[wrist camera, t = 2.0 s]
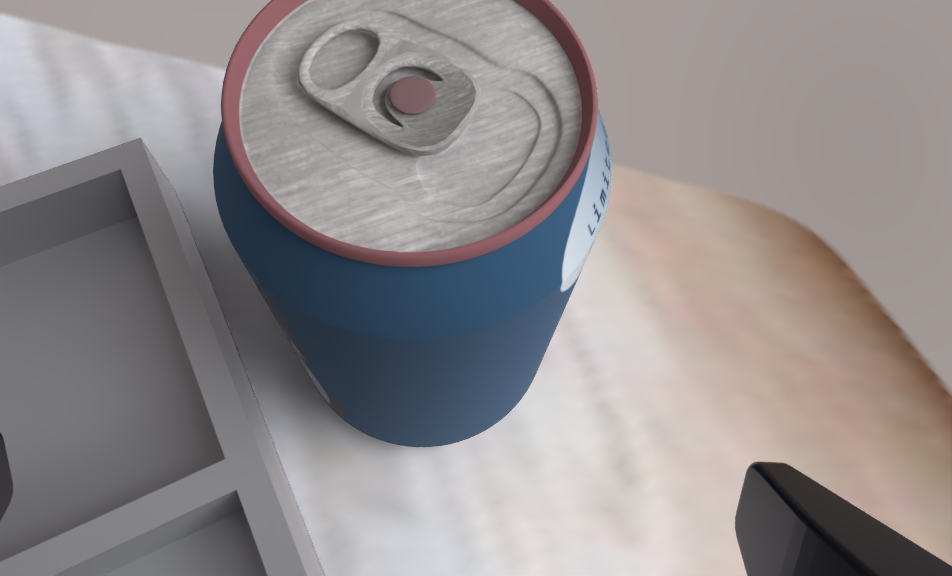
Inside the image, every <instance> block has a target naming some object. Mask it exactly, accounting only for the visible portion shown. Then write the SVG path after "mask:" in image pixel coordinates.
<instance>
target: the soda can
mask: <svg viewBox="0 0 952 576" xmlns="http://www.w3.org/2000/svg"><path fill="white" fill-rule="evenodd" d="M221 114H222V122H221V125H220V128H219V133H218V137H217V141H216V147H215V154H214V167H213V175H214V189H215V196H216V202H217V206H218V210H219V214H220V217H221V220H222V222H223V225H224V228H225V230H226V232H227V234H228V237H229V239H230V241H231V243H232V244H233V246H234V248H235V250H236V251H237V253H238V255H239V256H240V258H241V260H242V262H243V263H244V265H245V267H246V268H247V270H248V272H249V274H250V275H251V277H252V279H253V280H254V282H255V284H256V285H257V287H258V289H259V291H260V292H261V294H262V296H263V297H264V299H265V301H266V302H267V304H268V306H269V308H270V309H271V311H272V313H273V314H274V316H275V318H276V319H277V321H278V323H279V325H280V326H281V328H282V330H283V331H284V333H285V335H286V336H287V338H288V340H289V342H290V343H291V345H292V347H293V348H294V350H295V352H296V354H297V355H298V357H299V359H300V360H301V362H302V364H303V365H304V367H305V369H306V371H307V372H308V374H309V376H310V377H311V379H312V381H313V382H314V384H315V386H316V388H317V389H318V391H319V393H320V394H321V395H322V397H323V398H324V400H325V401H326V402H327V403H328V405H329V406H330V407H331V408H332V409H333V410H334V411H335V412H336V413H337V414H338V415H339V416H340V417H341V418H342V419H344V420H345V421H346V422H348V423H349V424H350V425H352V426H353V427H355V428H356V429H358V430H360V431H361V432H363V433H365V434H367V435H369V436H372V437H374V438H376V439H379V440H382V441H385V442H388V443H393V444H397V445H403V446H411V447H433V446H442V445H447V444H452V443H456V442H459V441H462V440H465V439H468V438H470V437H473V436H475V435H477V434H479V433H481V432H483V431H485V430H487V429H488V428H490V427H491V426H493V425H494V424H496V423H497V422H498V421H500V420H501V419H502V418H503V417H505V416H506V415H507V414H508V413H509V412H510V411H511V410H512V409H513V408H514V407H515V406H516V405H517V403H518V402H519V401H520V400H521V399H522V397H523V396H524V394H525V393H526V391H527V390H528V388H529V386H530V385H531V383H532V381H533V379H534V377H535V374H536V372H537V370H538V368H539V365H540V363H541V361H542V359H543V356H544V354H545V352H546V350H547V347H548V345H549V343H550V341H551V338H552V336H553V334H554V331H555V329H556V327H557V325H558V322H559V320H560V318H561V316H562V313H563V311H564V309H565V307H566V304H567V302H568V300H569V297H570V295H571V293H572V291H573V288H574V286H575V284H576V282H577V279H578V277H579V275H580V273H581V270H582V268H583V266H584V263H585V261H586V259H587V257H588V254H589V252H590V250H591V248H592V245H593V243H594V241H595V239H596V236H597V234H598V232H599V229H600V227H601V224H602V221H603V219H604V216H605V212H606V209H607V205H608V201H609V195H610V188H611V155H610V147H609V142H608V137H607V133H606V130H605V126H604V123H603V120H602V117H601V115H600V112H599V109H598V98H597V88H596V83H595V78H594V74H593V70H592V67H591V64H590V61H589V59H588V56H587V54H586V51H585V49H584V47H583V45H582V43H581V41H580V39H579V38H578V36H577V35H576V33H575V31H574V30H573V28H572V27H571V25H570V24H569V22H568V21H567V20H566V18H565V17H564V16H563V15H562V14H561V12H560V11H559V10H558V9H557V8H556V7H555V6H554V5H553V4H552V3H551V2H550V1H549V0H271V1H270V2H269V3H268V4H267V5H266V6H265V7H264V8H263V9H262V10H261V11H260V12H259V13H258V14H257V15H256V17H255V18H254V19H253V20H252V21H251V23H250V24H249V25H248V27H247V28H246V30H245V31H244V33H243V34H242V36H241V38H240V39H239V41H238V43H237V45H236V46H235V49H234V51H233V53H232V55H231V58H230V61H229V64H228V66H227V69H226V73H225V77H224V81H223V88H222V97H221Z"/></svg>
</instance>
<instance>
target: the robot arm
mask: <svg viewBox="0 0 952 576" xmlns="http://www.w3.org/2000/svg"><path fill="white" fill-rule="evenodd" d="M12 495H13V479H12V475H11V470H10V466H9V461H8V456H7V452H6V447H5V443H4V439H3V436H2V434H1V432H0V521H1V519H2V518H3V516H4V514H5V512H6V510H7V509H8V507H9V504H10V502H11V499H12ZM735 530H736V536H737V540H738V544H739V547H740V551H741V555H742V558H743V562H744V565H745V569H746V573H747V576H952V566H951V565H949V564H947V563H946V562H944V561H943V560H941V559H939V558H938V557H936V556H934V555H933V554H931V553H930V552H928V551H926V550H925V549H923V548H922V547H920V546H918V545H917V544H915V543H914V542H912V541H910V540H909V539H907V538H905V537H904V536H902V535H901V534H899V533H897V532H896V531H894V530H893V529H891V528H889V527H888V526H886V525H885V524H883V523H881V522H880V521H878V520H877V519H875V518H873V517H872V516H870V515H869V514H867V513H865V512H864V511H862V510H860V509H859V508H857V507H856V506H854V505H852V504H851V503H849V502H848V501H846V500H844V499H843V498H841V497H840V496H838V495H836V494H835V493H833V492H832V491H830V490H828V489H827V488H825V487H823V486H822V485H820V484H819V483H817V482H815V481H814V480H812V479H811V478H809V477H807V476H806V475H804V474H803V473H801V472H799V471H798V470H796V469H795V468H793V467H791V466H790V465H788V464H785V463H778V462H754V463H752V464H751V465H750V466H749V467H748V469H747V472H746V475H745V479H744V483H743V487H742V491H741V495H740V499H739V503H738V508H737V512H736V517H735Z"/></svg>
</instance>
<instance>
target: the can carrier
mask: <svg viewBox="0 0 952 576" xmlns="http://www.w3.org/2000/svg"><path fill="white" fill-rule="evenodd" d="M0 432H1V434H2V436H3V439H4V443H5V447H6V452H7V456H8V461H9V466H10V470H11V475H12V479H13V495H12V499H11V502H10V504H9V507H8V509H7V510H6V512H5V514H4V516H3V518H2V519H1V521H0V576H325V575H324V572H323V569H322V567H321V564H320V562H319V559H318V557H317V554H316V551H315V549H314V546H313V544H312V541H311V539H310V536H309V533H308V531H307V528H306V526H305V523H304V521H303V518H302V515H301V513H300V510H299V508H298V505H297V503H296V500H295V497H294V495H293V492H292V490H291V487H290V485H289V482H288V479H287V477H286V474H285V472H284V469H283V467H282V464H281V461H280V459H279V456H278V454H277V451H276V449H275V446H274V443H273V441H272V438H271V436H270V433H269V431H268V428H267V425H266V423H265V420H264V418H263V415H262V413H261V410H260V407H259V405H258V402H257V400H256V397H255V395H254V392H253V389H252V387H251V384H250V382H249V379H248V376H247V374H246V371H245V369H244V366H243V364H242V361H241V358H240V356H239V353H238V351H237V348H236V346H235V343H234V340H233V338H232V335H231V333H230V330H229V328H228V325H227V322H226V320H225V317H224V315H223V312H222V310H221V307H220V304H219V302H218V299H217V297H216V294H215V292H214V289H213V286H212V284H211V281H210V279H209V276H208V274H207V271H206V268H205V266H204V263H203V261H202V258H201V256H200V253H199V250H198V248H197V245H196V243H195V240H194V238H193V235H192V232H191V230H190V227H189V225H188V222H187V220H186V217H185V214H184V212H183V209H182V207H181V204H180V202H179V199H178V196H177V194H176V191H175V190H174V188H173V187H172V185H171V184H170V182H169V180H168V179H167V177H166V176H165V174H164V173H163V171H162V170H161V168H160V167H159V165H158V164H157V162H156V161H155V159H154V158H153V156H152V154H151V153H150V151H149V150H148V148H147V147H146V145H145V144H144V142H143V141H142V139H141V138H139V139H136V140H133V141H130V142H127V143H124V144H121V145H118V146H116V147H113V148H110V149H107V150H104V151H101V152H98V153H96V154H93V155H90V156H87V157H84V158H81V159H78V160H76V161H73V162H70V163H67V164H64V165H61V166H58V167H55V168H53V169H50V170H47V171H44V172H41V173H38V174H35V175H33V176H30V177H27V178H24V179H21V180H18V181H15V182H13V183H10V184H7V185H4V186H1V187H0Z"/></svg>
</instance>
